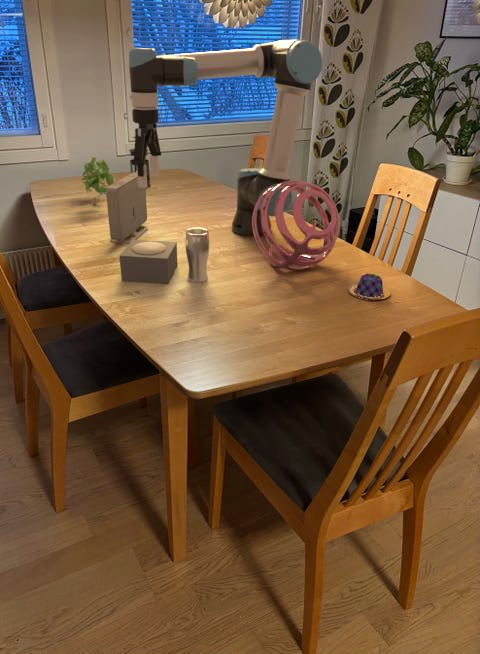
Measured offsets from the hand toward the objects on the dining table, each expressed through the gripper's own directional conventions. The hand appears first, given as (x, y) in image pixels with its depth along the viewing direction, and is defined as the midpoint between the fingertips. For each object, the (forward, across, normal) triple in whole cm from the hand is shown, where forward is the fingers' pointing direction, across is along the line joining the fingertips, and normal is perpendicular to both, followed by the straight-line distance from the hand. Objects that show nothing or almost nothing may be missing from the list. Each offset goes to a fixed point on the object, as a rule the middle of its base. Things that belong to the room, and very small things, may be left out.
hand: (149, 181), depth 160 cm
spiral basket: (+24, 0, +47) cm, 53 cm away
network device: (+24, -18, -14) cm, 33 cm away
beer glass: (+24, +17, +19) cm, 35 cm away
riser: (+24, +15, +4) cm, 29 cm away
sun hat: (+24, +16, +70) cm, 76 cm away
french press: (+24, -88, -31) cm, 97 cm away
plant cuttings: (+24, -55, -36) cm, 70 cm away
